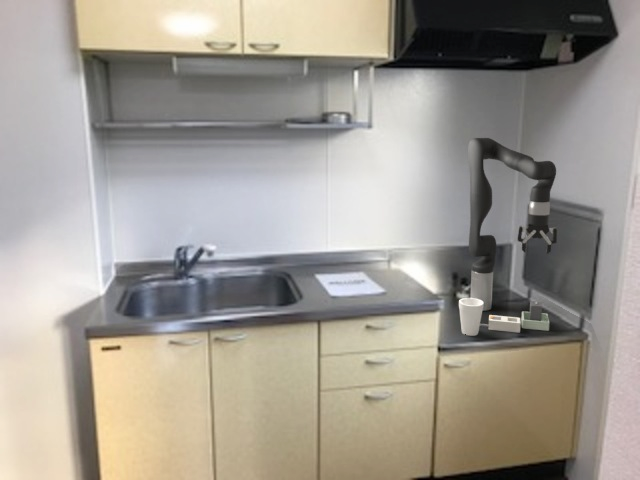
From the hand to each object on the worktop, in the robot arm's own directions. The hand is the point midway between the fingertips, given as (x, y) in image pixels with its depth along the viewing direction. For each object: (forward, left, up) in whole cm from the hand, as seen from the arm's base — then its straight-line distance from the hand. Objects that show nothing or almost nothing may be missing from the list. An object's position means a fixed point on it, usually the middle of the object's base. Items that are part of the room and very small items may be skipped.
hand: (535, 252), depth 212 cm
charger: (-1, +2, -31) cm, 31 cm away
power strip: (+6, -13, -31) cm, 34 cm away
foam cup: (+14, -23, -31) cm, 41 cm away
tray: (-1, +2, -31) cm, 31 cm away
